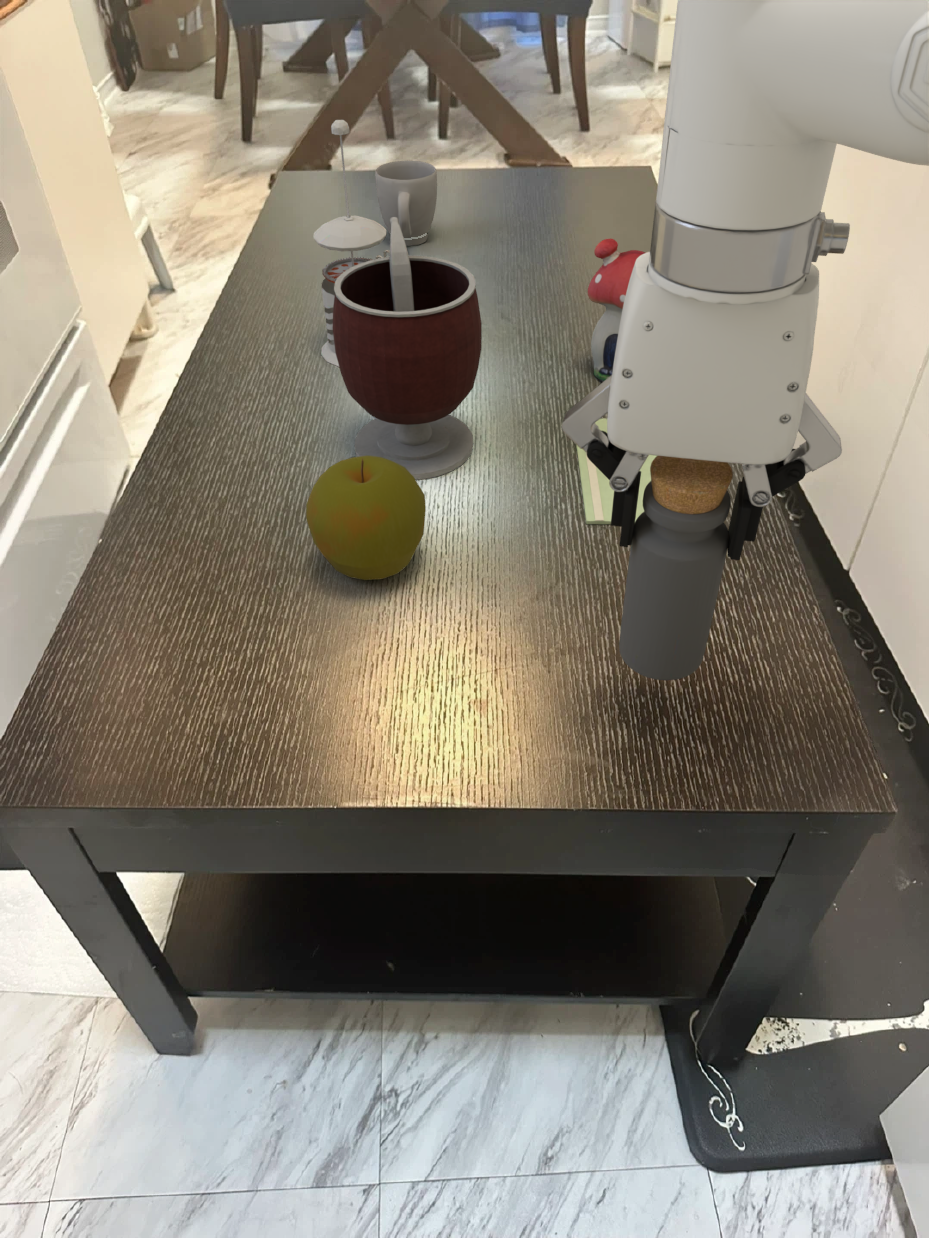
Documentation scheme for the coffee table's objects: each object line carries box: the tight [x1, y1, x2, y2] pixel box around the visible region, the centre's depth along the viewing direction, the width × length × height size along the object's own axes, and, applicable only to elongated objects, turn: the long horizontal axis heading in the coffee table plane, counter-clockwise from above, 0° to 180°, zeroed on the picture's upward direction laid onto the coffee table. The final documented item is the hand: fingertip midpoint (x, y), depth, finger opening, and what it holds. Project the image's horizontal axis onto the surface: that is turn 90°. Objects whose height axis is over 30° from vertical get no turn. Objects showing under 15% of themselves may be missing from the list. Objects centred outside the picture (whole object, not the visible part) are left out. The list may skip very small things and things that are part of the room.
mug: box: [374, 159, 438, 247], centre depth 128 cm, size 12×9×10 cm
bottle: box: [618, 456, 734, 681], centre depth 56 cm, size 6×6×15 cm
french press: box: [312, 119, 390, 367], centre depth 98 cm, size 10×12×25 cm
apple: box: [305, 456, 427, 581], centre depth 74 cm, size 10×10×11 cm
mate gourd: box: [333, 217, 483, 481], centre depth 85 cm, size 16×14×20 cm
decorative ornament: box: [587, 238, 646, 382], centre depth 97 cm, size 9×7×15 cm
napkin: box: [575, 417, 657, 525], centre depth 88 cm, size 18×12×1 cm, turn 179°
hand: (680, 537), depth 55 cm, fingers closed on bottle, 5 cm apart
